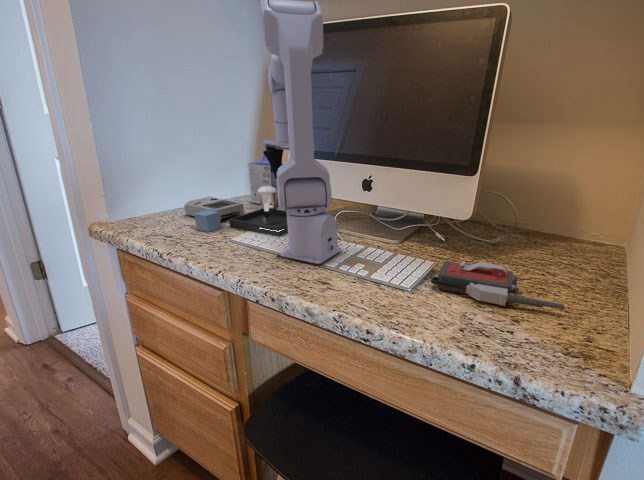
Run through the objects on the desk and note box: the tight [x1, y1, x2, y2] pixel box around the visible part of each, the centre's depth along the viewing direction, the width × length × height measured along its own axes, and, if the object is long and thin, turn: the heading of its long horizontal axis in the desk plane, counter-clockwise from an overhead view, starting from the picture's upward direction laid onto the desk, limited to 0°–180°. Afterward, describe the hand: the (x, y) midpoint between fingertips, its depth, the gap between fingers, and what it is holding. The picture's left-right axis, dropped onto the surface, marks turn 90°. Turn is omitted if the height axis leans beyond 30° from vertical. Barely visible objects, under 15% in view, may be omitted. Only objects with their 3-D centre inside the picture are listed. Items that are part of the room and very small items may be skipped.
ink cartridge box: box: [247, 154, 284, 207], centre depth 112 cm, size 10×6×14 cm, turn 57°
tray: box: [228, 208, 288, 237], centre depth 95 cm, size 15×13×2 cm
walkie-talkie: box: [430, 260, 566, 310], centre depth 60 cm, size 9×4×20 cm
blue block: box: [193, 210, 222, 233], centre depth 90 cm, size 4×4×4 cm
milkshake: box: [258, 186, 277, 224], centre depth 93 cm, size 5×5×10 cm
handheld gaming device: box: [183, 196, 245, 222], centre depth 101 cm, size 9×15×4 cm, turn 57°
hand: (290, 179), depth 96 cm, fingers open, 7 cm apart
